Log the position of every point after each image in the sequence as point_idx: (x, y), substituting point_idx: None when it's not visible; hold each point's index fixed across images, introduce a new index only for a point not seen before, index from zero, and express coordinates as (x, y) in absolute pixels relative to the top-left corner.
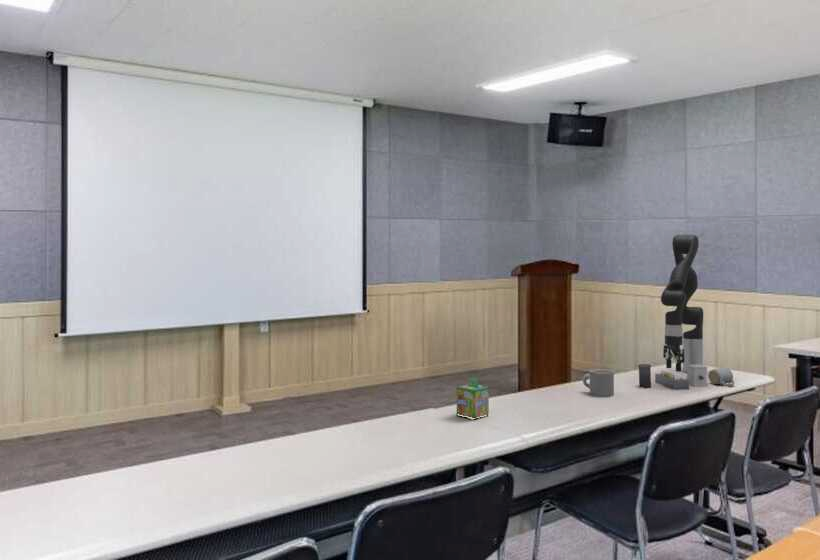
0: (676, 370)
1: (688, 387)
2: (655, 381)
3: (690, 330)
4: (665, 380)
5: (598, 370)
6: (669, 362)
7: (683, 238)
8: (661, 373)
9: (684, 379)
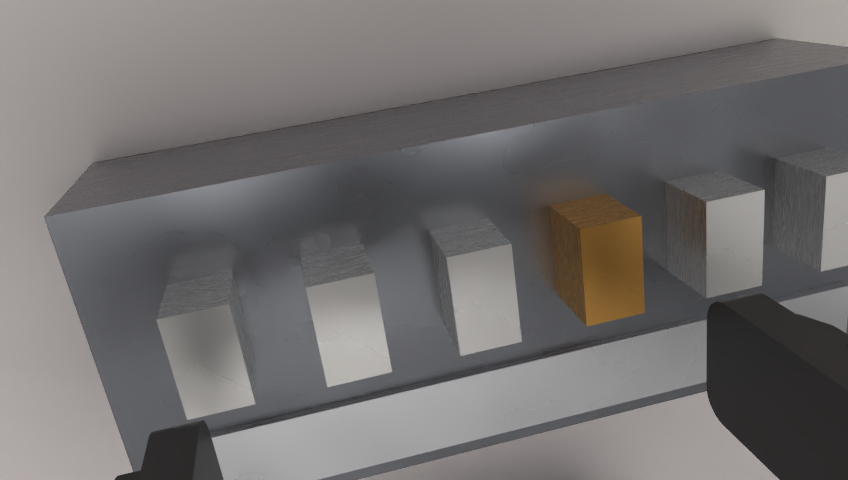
0: (156, 438)
1: None
2: (776, 41)
3: None
4: (438, 124)
5: None
6: (818, 456)
7: None
8: (800, 163)
9: None
